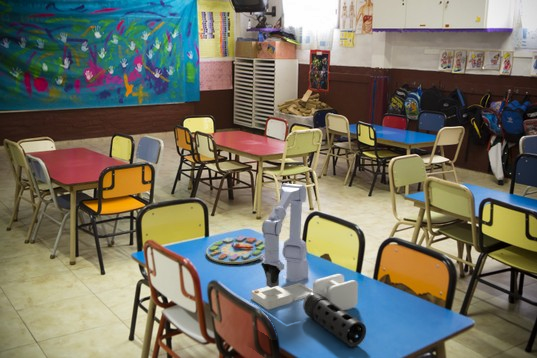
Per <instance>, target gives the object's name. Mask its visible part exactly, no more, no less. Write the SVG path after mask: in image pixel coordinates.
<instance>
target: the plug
mask: <svg viewBox="0 0 537 358" xmlns="http://www.w3.org/2000/svg"><path fill="white" fill-rule="evenodd" d="M265 278H266V280H265V281H266V282H265V283H266V285H265V286H266V287H270V288H272V287H275V286H279V285H280V275H279V276H278V279H277V282H276V283H272V282H271V274H270V271H266V275H265ZM279 287H280V286H279Z"/></svg>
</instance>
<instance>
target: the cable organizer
mask: <svg viewBox="0 0 537 358" xmlns="http://www.w3.org/2000/svg"><path fill="white" fill-rule="evenodd" d="M312 290H313V293H316V294H321V295H323V296H324V297H326V298H327V299H328V300H329V301H330V302H332V303H333V304H335V305H336V306H338V307H339V308H341V309H342V310H344V311H347V310H351V309H353V308H354V307H356V306H357V304H358V296H359V294H358V293H359V282H358V281H356V280H354V279H351V280H348V281H345V275H344V274H341V273H336V274H335V273H334V274H332V275H328V276H324V277H321V278H317V279H316V280H314V281H313V283H312Z"/></svg>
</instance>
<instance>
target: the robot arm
mask: <svg viewBox="0 0 537 358" xmlns="http://www.w3.org/2000/svg"><path fill="white" fill-rule="evenodd" d="M279 192H280V199H279V202H278V204H277V206H274V207H273V209H272V211H271V213H270V214H269V216H268V218H267V219H266V220H263V223H262V226H261V232H262V237H263V239H264V243H265V254H261V255H260V259H259V260H260V261H262V263H261V264H260V266H261V267H262V269H263V271H264V275H265V276H266V271H270V274H271V282H272V283H276V282H277V279H278V276H279V277H280V273H281V272H282V271H283V270H285V264H284V263H283V262H282V260H281V259H280V234H281V233H282V228H283V222H284V220H285V218H286V216H287V211H286V210H287V209H288V207H289V206H290V215H289V237H288V238H287V239H286V240H285V241H284V242H283V248H282V251H281V253H282V256H283V258H284V260H285V261H286V273H285V275H282V278H284V279H286V280H288V281H290V282H292V283H296V282H298V281H302V280H306V279H310V277H309V261H308V260H307V259H308V258H307V255H308V249H307V242H306V241H304V240H303V239H302V238H301V235H302V234H301V233H302V232H301V231H302V230H301V229H302V210H303V209H302V208H303V203H305V202H306V200H307V188H306V186H305V185H304V184H297V183H296V184H295V183H286V182H284V183H282V184H281V185H280V190H279Z"/></svg>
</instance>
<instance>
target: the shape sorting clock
mask: <svg viewBox="0 0 537 358" xmlns="http://www.w3.org/2000/svg"><path fill="white" fill-rule="evenodd" d="M205 253H206V256H207V257H208V258H209V259H210V260H212V261H214V262H217V263H221V264H222V263H223V264H228V265H229V264H231V265H234V264H239V265H244V264H247V263H250V262H255V261H257V260H260V255H261V254H265V241H263V240H261V239H257V238H256V237H253V236H251V237H247V236H243V235H239V236H237V237H225V238H223V239H220V240H217V241H215V242H212V243H211V244H209V246H208V247H207V248H206V251H205Z"/></svg>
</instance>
